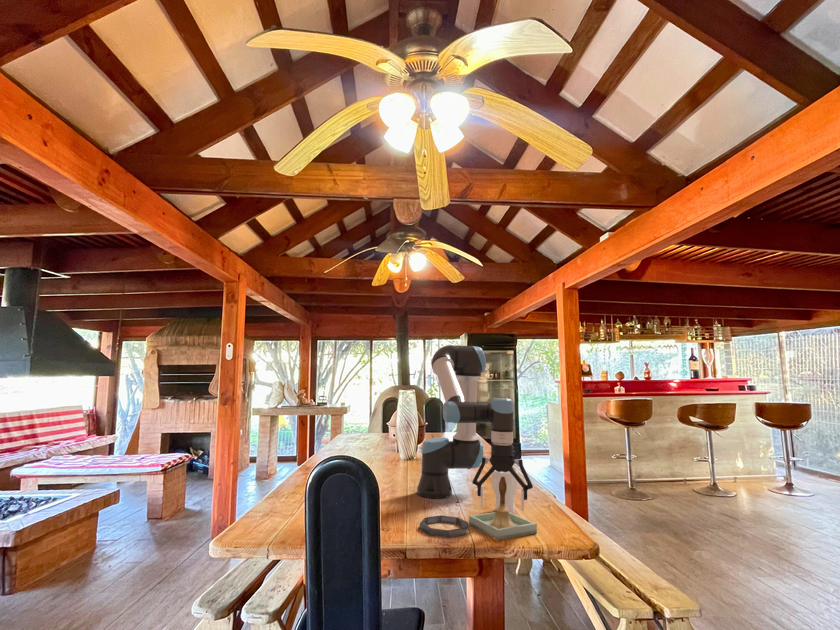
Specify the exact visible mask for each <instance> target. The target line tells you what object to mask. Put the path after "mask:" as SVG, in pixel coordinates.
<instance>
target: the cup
mask: <svg viewBox="0 0 840 630" xmlns="http://www.w3.org/2000/svg"><path fill="white" fill-rule="evenodd" d="M514 470H515V472H516V473H517V474H518V475H519V472H518V470H516V469H514ZM501 477H505V480H506V485H507V488H506V494H505V507H506V508H507V509H508V510H509V512H511V513H513V514H516V506H515V496H516V493H517V492H518V489H519V485H520V484H519V483H518V481H517V480H516V479H515V478H514V476H513V475H512V474H511V473H510V472H509V471H508V472H497V471H496V470H495V471H494V472H493V473H492V474H491V475H490V482H491V486H492V489H493V492H494V494H495V504H494V505H495V506H494V512H495V511H496V508H498V507H499V506H500V492H499V482H500V479H501Z"/></svg>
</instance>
